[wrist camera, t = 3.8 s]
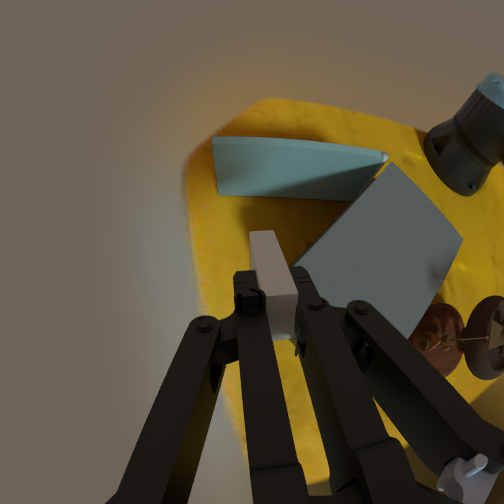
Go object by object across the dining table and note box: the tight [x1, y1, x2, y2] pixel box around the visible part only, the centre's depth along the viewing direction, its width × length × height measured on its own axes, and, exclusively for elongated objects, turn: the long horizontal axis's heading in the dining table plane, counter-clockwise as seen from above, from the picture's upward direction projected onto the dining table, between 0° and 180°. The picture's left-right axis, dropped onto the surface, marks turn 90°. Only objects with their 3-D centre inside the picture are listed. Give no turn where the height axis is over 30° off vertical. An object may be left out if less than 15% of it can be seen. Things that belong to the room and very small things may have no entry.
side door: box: [212, 136, 389, 202], centre depth 30 cm, size 19×2×11 cm, turn 89°
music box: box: [407, 296, 504, 380], centre depth 22 cm, size 15×11×20 cm
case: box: [289, 162, 463, 346], centre depth 27 cm, size 20×12×11 cm, turn 134°
